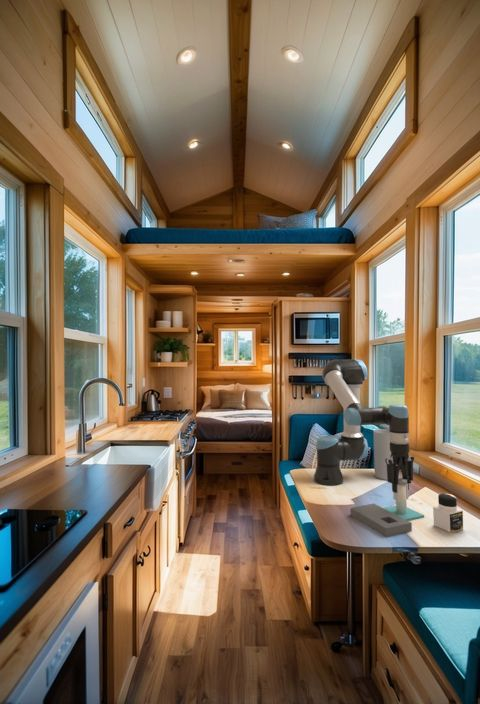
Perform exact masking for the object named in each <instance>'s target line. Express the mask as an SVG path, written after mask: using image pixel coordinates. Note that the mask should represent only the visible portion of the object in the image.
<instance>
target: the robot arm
mask: <svg viewBox="0 0 480 704" xmlns="http://www.w3.org/2000/svg"><path fill="white" fill-rule="evenodd" d="M321 375H322V379H323V382H324V383H325V385H326V386H329V387H330V389H331V391H332V393H333V394H334V395H335V397H336V398H337V400H338V402H339V403H340V405H341V406H342V408H343V431H342V432H341V433H340V437H339V436H338V435H334V434H333V435H331V434H329V435H323V436H321V437H318V438H317V440H316V468H315V472H314V475H313V481H314V482H316V483H317V484H320V485H324V486H339V485H341V484H343V483H344V476H343V473H342V471H341V467H340V462H343V461H358V460H364V459H365V458H366V457H367V455H368V452H369V444H368V441H367V440H368V439H366V438H365V437H364V434H363V433H362V432H361V426H369V425H370V426H375V425H376V426H378V425H381V426H382V425H386V426H388V428H389V429H388V430H389V440H390V441H391V442H390V451H391V456H390V458H389V459H385V461H386V464H387V479H388V480H387V483H389V484H391V491H392V492H393V493H392V494H393V496H392V498H393V500H394V501H396V500H397V501H400V489H399V485H398V477H400V472H401V478H405V479H407V484H406V501H407V500H409V490H410V484H411V483H412V482H413V480H414V460H415V456H412V455H409V453H410V444H409V442H410V432H409V431H410V429H409V427H410V424H409V423H410V422H409V421H410V418H409V417H410V416H409V415H410V414H409V408H408V406H407V405H405V404H404V405H403V404H389V406H388V407H387V406H384V405H383V406H382V405H381V406H380V405H379V406H376V407H364V406H363V405H362V404H361V387H362V386H363V384H364V382H365V381H366V380H367V378H368V368H367V366H366V364H365V362H364V361H363V360H361V359H355V358H354V359H331V360H330V361H328V362H327V363H326V364H324V367H323V368H322V373H321ZM397 465H398V466H397ZM400 470H401V471H400Z"/></svg>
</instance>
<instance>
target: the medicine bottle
mask: <svg viewBox="0 0 480 704" xmlns="http://www.w3.org/2000/svg"><path fill="white" fill-rule="evenodd" d="M437 498H438V502H437V503H438V505H434V506H433V508H432V509H433V526H435V527H437V528H439V529H441V530H444V531H445V532H448V533H450V534H452V533H455V532H458V531H461V530H464V515H463V510H462V509H460V508H458V504H457V503H458V502H457V500H458V499H457V497H456V496H455V495H453V494H451V493H450V494H449V493H440V494H438V497H437Z"/></svg>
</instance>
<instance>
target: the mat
mask: <svg viewBox="0 0 480 704" xmlns="http://www.w3.org/2000/svg"><path fill="white" fill-rule="evenodd" d="M383 508H384V509H386V510H388V511H390V512H392V513H394V514H396V515H397V516H399V517H401V518H403V519H405V520H407V521H409V522H410V521H413V520H417V519H422V518H425V514H423V513H420V512H418V511H416V510H414V509H412V508H409V507H407V513H406V514H399V513H397V512H396V505H392V506H387V507H383Z"/></svg>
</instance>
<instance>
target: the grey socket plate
mask: <svg viewBox="0 0 480 704" xmlns="http://www.w3.org/2000/svg"><path fill="white" fill-rule="evenodd" d="M384 508H385V507H382V506H379V505H377V504H376V503H370V504H364V505H358V506H354V507H353V506H352V507H350V516H351V517H353V518H355V519H356V520H358V521H360V522H361V523H363V524H364V525H366V526H368V527H370V528H371V529H373V530H375V531H376V532H378V533H379V534H381V535H383V536H385V537H386V538H387V537H392V536H396V535H400V534H403V533H404V534H405V533H408V532H409V533H410V532H412V531H413V524H412V521H410V520H409V521H407V520H405V519H403V518H401V517H399V516H397V515H396V514H394V513H392V512H390V511H388V510H386V509H384Z"/></svg>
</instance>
